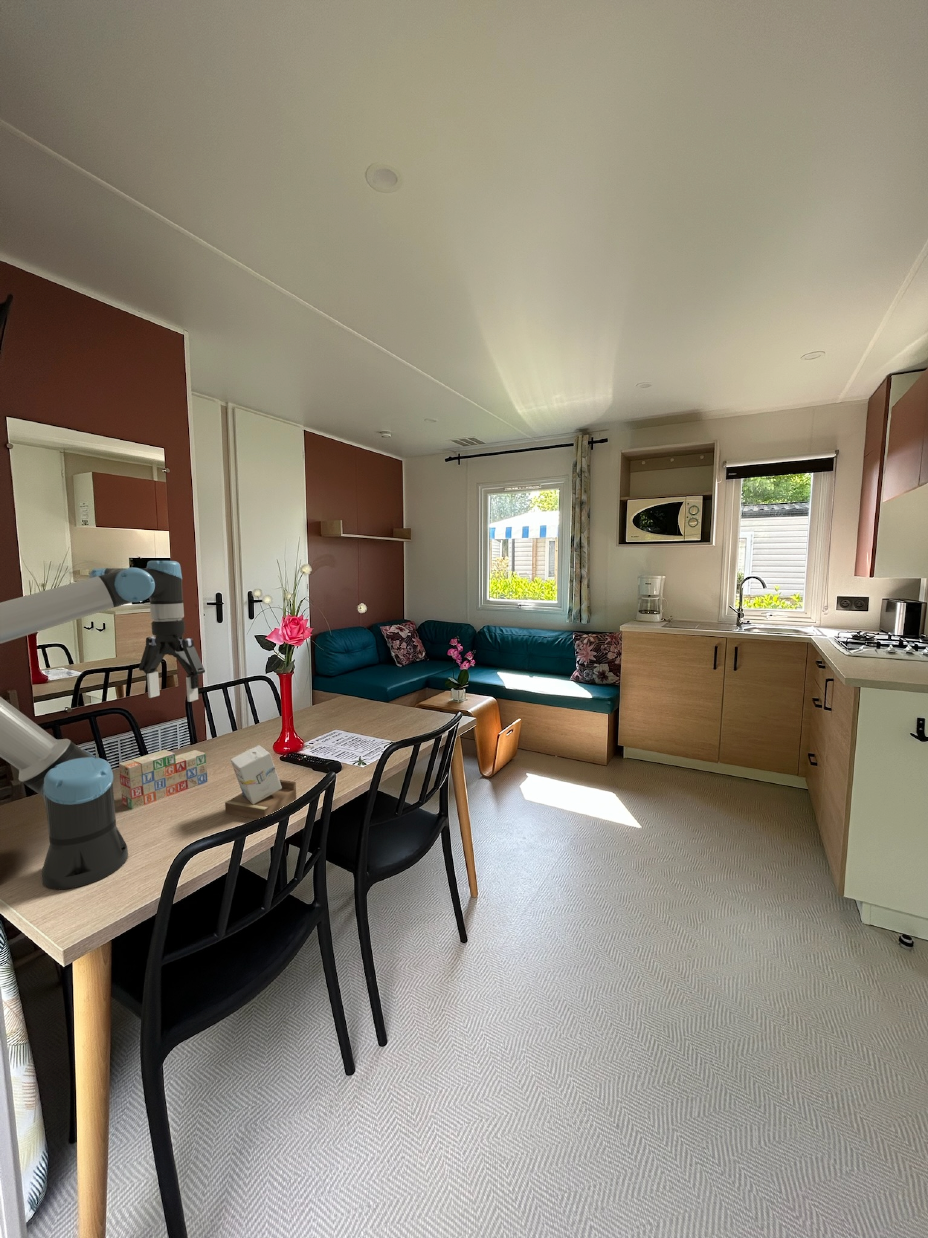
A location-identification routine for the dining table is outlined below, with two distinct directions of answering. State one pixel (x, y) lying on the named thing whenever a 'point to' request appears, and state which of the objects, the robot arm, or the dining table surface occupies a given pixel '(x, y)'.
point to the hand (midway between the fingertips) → (173, 698)
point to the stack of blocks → (160, 776)
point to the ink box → (256, 774)
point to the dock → (262, 802)
